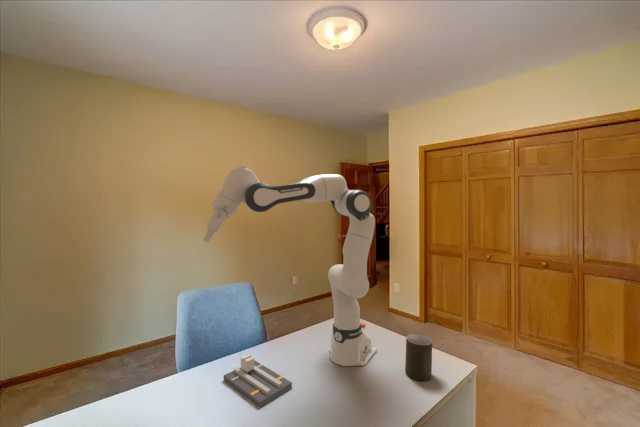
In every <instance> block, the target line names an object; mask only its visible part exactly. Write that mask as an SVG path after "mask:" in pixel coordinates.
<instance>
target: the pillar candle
mask: <svg viewBox="0 0 640 427" xmlns="http://www.w3.org/2000/svg"><path fill="white" fill-rule="evenodd" d="M405 340H406V341H405V369H404V372H405V374H406V376H407V377H408V378H410V379H412V380H414V381H417V382H427V381H430V380H431V379H432V372H433V371H432V365H433V340H432V339H431V337H428V336H425V335H423V334H418V333H417V334H414V333H413V334H408V335H406V338H405Z"/></svg>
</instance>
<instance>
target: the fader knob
mask: <svg viewBox="0 0 640 427" xmlns="http://www.w3.org/2000/svg"><path fill="white" fill-rule="evenodd" d="M254 361H255V357H253V356H252V355H250V354H247V355H243V356H241V357H240V367H241V369H243V370H244V372H245V373H247V374H248V373H250V372H251V370H252V369H254Z"/></svg>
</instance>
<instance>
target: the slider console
mask: <svg viewBox="0 0 640 427" xmlns="http://www.w3.org/2000/svg"><path fill="white" fill-rule="evenodd" d="M223 382H225V383H226V384H227V385H229V386H230V387H231V388H233V389H234V390H235V391H236V392H238V393H239V394H240V395H242V396H243V397H245V398H246V399H247V400H249V402H251V403H252V404H253V405H255V406H256V407H258V408H259V409H261V408H262V407H264V406H266V405H267V404H269V403H270V402H272V401H273V400H275V399H277V398H278V397H281V395H283V394H285V393H286V392H288V391H289V390H291V389H292V388H293V382H292V381H291V380H288V379H287V378H285V377H284V376H282V375H280V374H278V373H276V372H275V371H273V370H272V369H270V368H268V367H266V366H265V365H263V364H262V363H260V362H258V361H256V360H254V369H252V370H251V372H250V373H248V374H247V373H245V372H244V370H243V369H241V366H240V367H235V368H233V370H232V371H230V372H227V373H225V374H224V375H223Z"/></svg>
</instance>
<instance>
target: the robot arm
mask: <svg viewBox="0 0 640 427" xmlns="http://www.w3.org/2000/svg"><path fill="white" fill-rule="evenodd" d="M347 185H348V184H347V181H346V179H345V177H344V176H342V174H336V173H334V174H333V173H326V174H325V173H323V174H315V175H311V176H308V177H305V178H303V179H302V180H301V181H298V182H295V183H291V184H282V185H271V184H267V183H265V182H260V181H259V179H258V177H257V175H256V174H255V171H253V170H252V169H251V168H248V167H246V166H240V165H236V166H233V168H232V169H231V170H230V171H229V172H228V174H227V176H226V177H225V179H224V181H223V183H222V186H221V188H220V190H219V191H218V192H217V194H216V195H215V197H214V199H213V201H212V202H211V205H212V206H213V208H212V212H213V214H212V215H211V218H210V219H209V222H208V223H207V225H206V229H207V231H206V233H205V235H204V238H203V239H202V241H203V242H205V243H208V242H209V241H210V240H211V239H212V237H213V235H214V233H217V231H218V230H219V229H220V228H221V226H222V225H223V223H224V222H225V221H226V220H227V219H229V218H230V216H231V215H232V216H235V214H236V213H237V211H238V209H239V207H240V205H241V203H242V204H244V205H245V206H246V207H247V208H248V209H250V210H252V211H254V212H257V213H263V212H267V211H268V210H269V211H270V209H272V208H273V207H275V206H277V205H279V204H283V203H284V204H285V203H292V202H296V201H303V202H305V203H314V204H315V203H321V202H322V203H323V202H328V201H330V202H331V205H332V208H333V210H334V211H335V213H337V214H338V215H339V216H346V217H348V218H349V219H348V220H349V225H348V230H347V232H346V236H345V240H344V243H343V247H342V255H343V258H342V259H343V261H342V262H343V263H342V264H341V263H337V264H334V265H332V266H331V267H330V268H329V270H328V273H327V277H328V281H329V284H330V291H331V296H332V297H331V298H332V302H333V324H332V334H331V338H330V339H331V340H330V347H328V352H329V359H330V360H331V362H333V363H334V364H337V365H338V366H342V367H354V366H361V367H364V366H367V364H368V363H369V361H370V360H372V357H373V356H374V355H375V354H376V352H377V348H376V347H375V346H374V345H372V341H371V338H370V336H369V335H368V334H366V333H365V332H363V329H365V328H366V324H365V323H362V322H361V321H360V320H361V319H360V318H361V308H360V304H359V302H358V299H361V298H364V297H365V296H366V295H367V294H368V292H369V289H370V281H369V278H368V258H369V253H370V248H371V245H372V242H373V241H372V240H373V237H374V233H375V227H376V217H375V216H374V214H372V212H373V211H372V199H371V196H370V195H369V194H368V193H367V192H366V191H364V190H361V189H349V188H348V186H347Z"/></svg>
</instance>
